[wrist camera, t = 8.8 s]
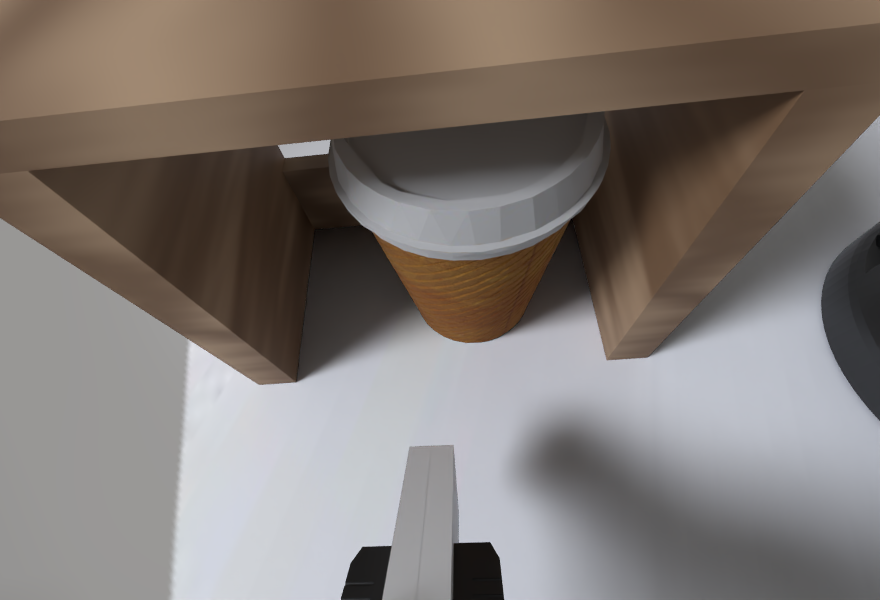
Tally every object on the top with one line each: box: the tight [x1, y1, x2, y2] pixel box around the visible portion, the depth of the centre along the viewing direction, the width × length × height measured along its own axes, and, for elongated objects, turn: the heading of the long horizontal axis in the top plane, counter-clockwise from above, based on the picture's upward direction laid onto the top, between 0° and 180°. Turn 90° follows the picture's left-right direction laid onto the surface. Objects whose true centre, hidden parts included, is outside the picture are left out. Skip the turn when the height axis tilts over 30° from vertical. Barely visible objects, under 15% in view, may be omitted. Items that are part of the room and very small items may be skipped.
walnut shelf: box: [0, 0, 880, 385], centre depth 17 cm, size 20×11×16 cm, turn 93°
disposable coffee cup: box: [328, 111, 611, 343], centre depth 19 cm, size 10×10×12 cm
